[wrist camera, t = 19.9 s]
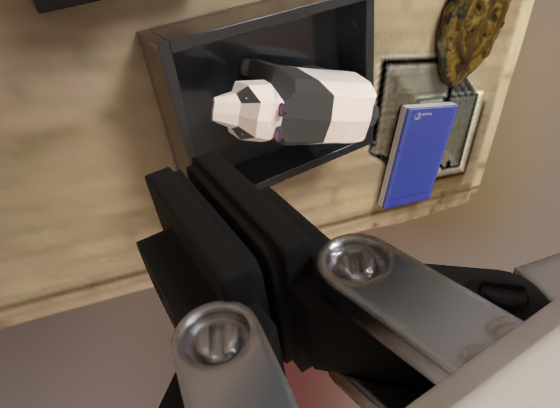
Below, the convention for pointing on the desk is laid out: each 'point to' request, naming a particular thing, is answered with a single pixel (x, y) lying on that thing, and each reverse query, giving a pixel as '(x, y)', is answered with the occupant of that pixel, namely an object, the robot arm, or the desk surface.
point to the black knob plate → (57, 4)
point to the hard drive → (416, 152)
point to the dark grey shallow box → (225, 71)
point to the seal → (467, 36)
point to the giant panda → (296, 105)
